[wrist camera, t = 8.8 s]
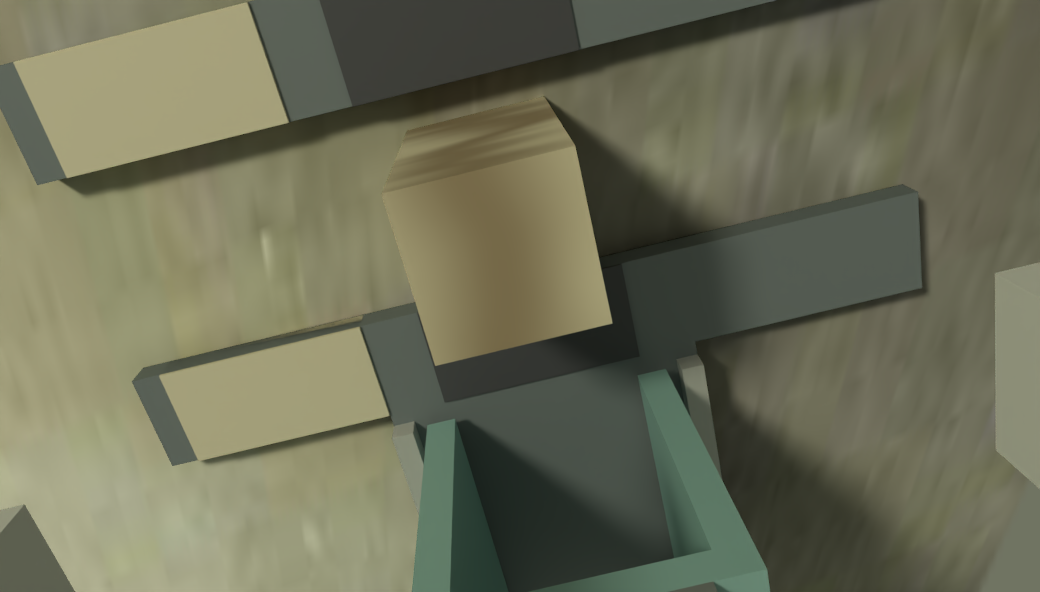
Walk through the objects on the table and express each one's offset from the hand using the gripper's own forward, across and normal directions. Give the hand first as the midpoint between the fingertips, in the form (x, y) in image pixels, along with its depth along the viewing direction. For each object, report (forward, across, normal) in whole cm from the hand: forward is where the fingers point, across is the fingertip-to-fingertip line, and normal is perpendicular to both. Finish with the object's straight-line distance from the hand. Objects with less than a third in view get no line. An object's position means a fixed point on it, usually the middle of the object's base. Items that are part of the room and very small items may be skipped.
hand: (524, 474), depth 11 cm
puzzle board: (+17, 0, +6) cm, 18 cm away
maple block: (+17, 0, 0) cm, 17 cm away
